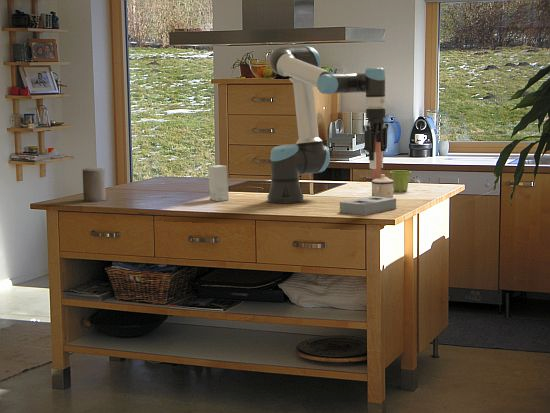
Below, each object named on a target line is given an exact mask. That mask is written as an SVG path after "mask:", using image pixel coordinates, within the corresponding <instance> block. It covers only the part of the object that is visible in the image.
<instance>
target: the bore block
mask: <svg viewBox="0 0 550 413" xmlns="http://www.w3.org/2000/svg"><path fill="white" fill-rule="evenodd" d="M391 209H392V210H395V209H397V198H394V197H393V198H385V197H375V196H372V195H371V196H366V197H361V198H355V199H348V200H345V201H344V200H343V201H339V213H344V214H351V215H358V214H359V216H368V215H373V214H376V213H377V212H378V213H381V211H383V212H387V211H391ZM386 210H387V211H386Z"/></svg>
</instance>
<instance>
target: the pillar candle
mask: <svg viewBox="0 0 550 413" xmlns="http://www.w3.org/2000/svg"><path fill="white" fill-rule="evenodd" d="M105 170H106V169H105V168H103V167H94V166H92V167H88V168H83V169H82V190H83V201H84V202H91V201H94V202H102V200H103V201H105V200H106V198H107V197H106V196H107V195H106V173H105Z"/></svg>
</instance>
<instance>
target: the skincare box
mask: <svg viewBox="0 0 550 413" xmlns="http://www.w3.org/2000/svg"><path fill="white" fill-rule="evenodd" d="M207 167H208V168H207V170H208V171H207V172H208V173H207V174H208V185H209V200H212V201H215V202H221V201H222V202H223V201H229V200H230V199H229V198H230V197H229V181H228V171H227V170H228V169H227V165H223V164H222V165H221V164H217V165H209V166H207Z"/></svg>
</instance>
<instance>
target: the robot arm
mask: <svg viewBox="0 0 550 413" xmlns="http://www.w3.org/2000/svg"><path fill="white" fill-rule="evenodd" d="M320 57H321V56H320V54H319V52H318V51H317V50H316V49H315V48H314V47H311V46H305V45H297V46H296V45H295V46H291V45H290V46H279V47H278V48H275V49H274V50H273V51H272V52H271V54H270V56H269V59H268V62H269V67H270V69H271V70H272V71H273V73H275V74H277V75H279V76H282V77H288V80H289V81H290V82H291V83H292V86H293V96H294V105H295V114H296V116H295V118H296V125H297V134H298V139H297V141H296V143H295V144H294V143H291V144H283V145H277V146H275V147H273V148H272V149H271V150H270V157H269V159H270V178H271V183H270V186H269V190H268V191H269V192H268V194H267V202H268V203H272V204H295V203H301V202H303V201H304V194H303V192H302V188H301V185H300V176H301V175H310V174H318V173H319V174H320V173H323V172H325V171H326V169H327V168H328V166H329V165H330V160H331V155H330V150H329V149H328V147H327V146H326V145H324V142H323V139H321V138H320V137H319V126H318V115H317V107H316V106H317V105H316V97H315V88H317V90H318V91H319V93H321V94H324V95H332V94H353V93H355V94H356V93H365V108H366V109H365V119H368V120H367V124H366V125H362V130H363V134H364V135H363V137H364V138H363V139H364V151H365V152H367V153H368V160H369V169H370V170H372V169H376V152H374V151H375V142H381V169H383V168H384V152H386V150H387V149H388V129H389V124H388V123H385V121H384V119H385V118H386V109H385V107H386V80H387V78H386V72H385V69H384V68H383V67H367V68H365V72H364V73H363V72H358V73H357V72H352V73H335V72H331V71H329V70H326V69H324V68H322V67H321V65H322V62H321V58H320Z"/></svg>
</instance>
